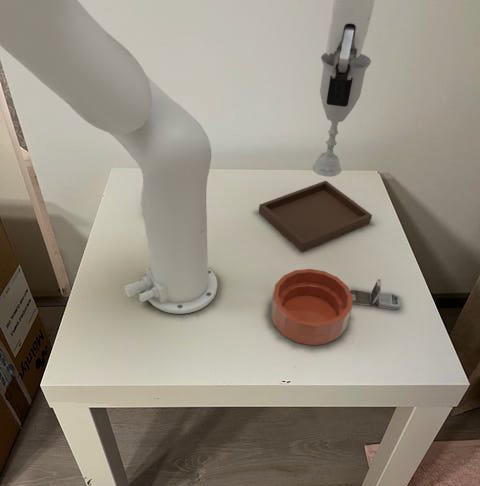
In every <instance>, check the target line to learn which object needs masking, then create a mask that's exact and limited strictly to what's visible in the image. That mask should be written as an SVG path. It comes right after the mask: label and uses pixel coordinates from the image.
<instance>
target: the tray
mask: <svg viewBox="0 0 480 486" xmlns="http://www.w3.org/2000/svg"><path fill="white" fill-rule="evenodd" d="M258 214H259V215H260V216H261V217H263V218H264V220H266V221H267V222H268V223H269V224H270V225H272V226H273V227H274V228H275V229H276V230H277V231H278V232H279V233H280V235H282V236H283V237H285V239H286V240H288V241H289V242H290V243H291V244H292V245H293V246H294V247H295V248H296V249H298V251H300V252H301V253H304V252H306V251H308V250H311V249H314V248H315V247H318V246H321V245H323V244H325V243H327V242H330V241H332V240H334V239H337V238H339V237H342V236H344V235H346V234H348V233H351V232H353V231H356V230H358V229H360V228H363V227H365V226H368V225H370V224H371V221H372V217H373V215H372V213H370V212H369V211H368V210H367V209H365V208H363V207H362V206H361V205H359V204H358V203H357V202H355V200H353V199H351V198H350V197H349V196H347V195H346V194H345V193H343V192H342V191H340V189H338V188H337V187H335V186H334V185H333V184H331V183H330V182H329V181H327V180H323V181H320V182H318V183H315V184H312V185H309V186H307V187H304V188H302V189H299V190H295V191H293V192H290V193H287V194H284V195H282V196H279V197H276V198H273V199H271V200H268V201H265V202H263V203H259V207H258Z"/></svg>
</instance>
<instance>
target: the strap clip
mask: <svg viewBox="0 0 480 486" xmlns="http://www.w3.org/2000/svg"><path fill="white" fill-rule="evenodd" d="M381 291H382V280H381V278H379V279H377V280H376V283H375V285H373V289H372V290H371V293H370V292H367V291H362V290H354V289H351V290H350V292H351V294H355V295H356V300H354V299H353V301H352V304H354V305H359V306H360V305H361V306H371V305H373V304H375V305H376V306H377V307H378V308H383V309H389V310H398V309H399V308H400V305H401V304H400V296H399V295H397V294H396V293H395V294H394V293H392V292H391V293H389V292H381ZM393 300H396V301H395V302H396V304H395V303H393Z"/></svg>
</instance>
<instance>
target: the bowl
mask: <svg viewBox="0 0 480 486" xmlns="http://www.w3.org/2000/svg"><path fill="white" fill-rule="evenodd" d="M350 291H351V290H350V288H349V286H348V285H347V284H346V283H345V282H344V281H343V280H342V279H340V278H339V277H338V276H336V275H334V274H332V273H330V272H327V271H325V270H320V269H314V268H305V269H296V270H295V269H294V270H293V271H290V272H288V273H286V274H284V275H282V277H281V278H280V279H279V280H278V281H277V282H276V283H275V285H274V288H273V293H272V302H271V309H270V316H271V319H272V324H273V326H274V327H275V328H276V329H277V330H278V331H279V332H280V333H281V334H282V336H284V337H285V338H287V339H290V340H291V341H293V342H295V343H296V344H297V343H298V344H304V345H310V346H318V345H324V344H329V343H330V342H332V341H334V340H336V339H338V338H340V337H341V335H342V334H343V333H344V331H345V330H346V329H347V326H348V323H349V319H350V317H351V313H352V309H353V303H352V301H353V300H354V296H353V295H352V294H353V293H352V294H351V292H350Z"/></svg>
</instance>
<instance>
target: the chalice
mask: <svg viewBox="0 0 480 486" xmlns="http://www.w3.org/2000/svg"><path fill="white" fill-rule="evenodd" d="M339 53H341V51H339ZM335 54H336V51H335V53H334V54H330V56H329V55H327V53H326V52H325V53H323V54H321V57H320V58H321V63H322V65H323V67H322V73H321V74H322V75H321V79H320V80H321V81H320V87H319V95H320V99H321V104H322V107H323V110H324V113H325V115H326V116H325V117H326V119H327V120H328V121H330V122H331V125H330V127H329V130H328V131H327V133H328V139H327V140H325V144H326V146H327V149H326V151H325V152H323V153H321V154H320V155H318V157H317V159H316V160H315V163H313V164H312V166H311V168H312V172H314V173H315V174H316V175H319V176H321V177H327V178H328V177H329V178H332V177H336V176H338V175H340V174H341V173H342V167H341V163H340V159H339V157H338V156H337V155H336V154H335V153H334V148H335V146H337V141H336V137H337V135H338V134H339V131H338V125H339V123H341V122H343V121H345V120H346V118H347V117H348V115H349V114H351V112H352V110H353V109H354V108H355V106H356V104H357V102H358V101H359V99H360V96H361V95H362V88H363V84H364V80H365V76H366V75H365V74H366V70H367V69H368V68H369V66H370V65H371V62H372V60H371V58H370V57H368V56H367V55H365V54H363V53H361V54H360V56H359V57H358V58H356V56H355V60H354V66H353V71H352V76H351V78H353V80H352V86H351V91H350V96H349V101H348V105H347V106H346V107H343V106H335V105H328V104H327V103H326V102H327V95H328V89H329V82H330V76H332V73H333V67H334V61H335ZM350 54H351V55H353V52H352V51H350ZM338 62H339V61H338ZM350 62H351V60H349V61H348V64H349V65H350Z"/></svg>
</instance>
